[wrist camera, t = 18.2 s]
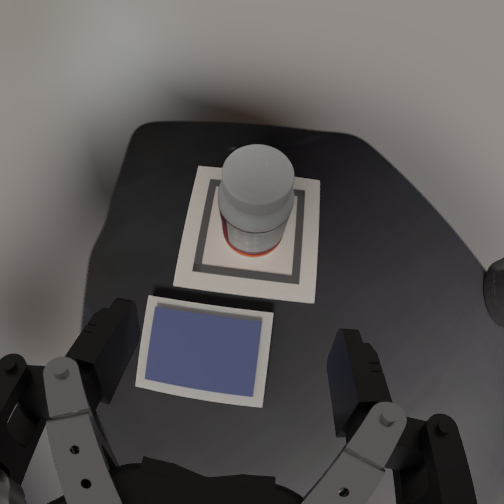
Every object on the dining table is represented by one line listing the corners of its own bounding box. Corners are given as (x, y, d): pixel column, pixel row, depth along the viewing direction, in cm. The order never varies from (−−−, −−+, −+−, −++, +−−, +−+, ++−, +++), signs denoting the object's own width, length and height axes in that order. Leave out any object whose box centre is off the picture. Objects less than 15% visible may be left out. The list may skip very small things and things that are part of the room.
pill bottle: (232, 198, 33) (227, 130, 22) (288, 212, 32) (308, 148, 22) (215, 251, 31) (201, 199, 20) (275, 266, 30) (292, 221, 20)
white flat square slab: (319, 181, 34) (320, 180, 34) (313, 303, 30) (314, 303, 29) (198, 166, 34) (198, 165, 34) (173, 285, 30) (172, 285, 29)
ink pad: (272, 314, 29) (274, 312, 28) (261, 405, 26) (262, 408, 25) (152, 297, 29) (147, 294, 28) (139, 384, 26) (133, 386, 25)
